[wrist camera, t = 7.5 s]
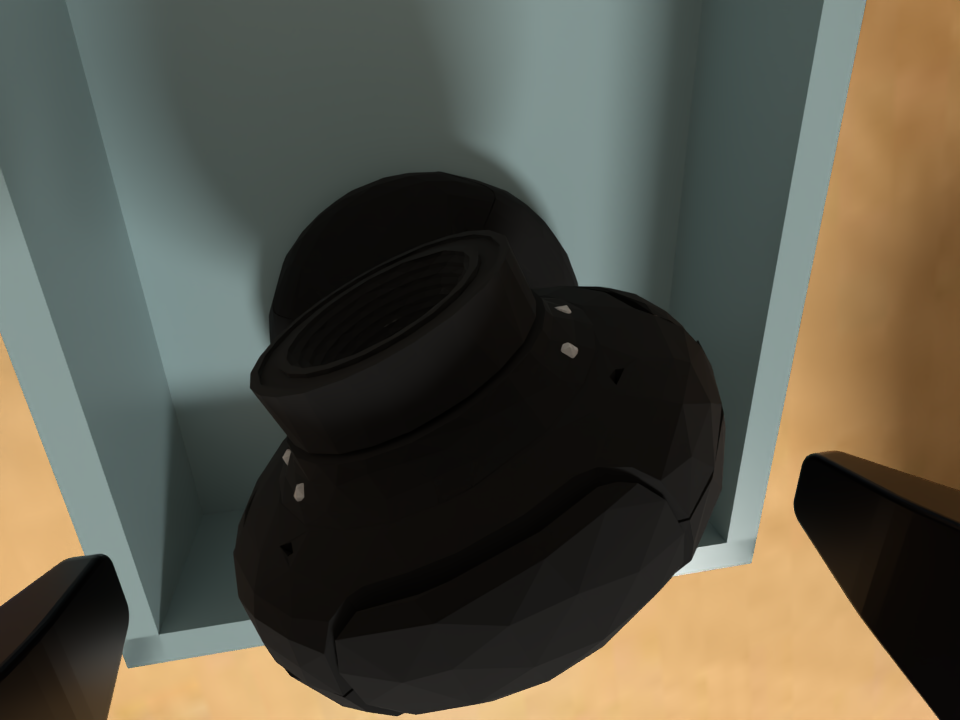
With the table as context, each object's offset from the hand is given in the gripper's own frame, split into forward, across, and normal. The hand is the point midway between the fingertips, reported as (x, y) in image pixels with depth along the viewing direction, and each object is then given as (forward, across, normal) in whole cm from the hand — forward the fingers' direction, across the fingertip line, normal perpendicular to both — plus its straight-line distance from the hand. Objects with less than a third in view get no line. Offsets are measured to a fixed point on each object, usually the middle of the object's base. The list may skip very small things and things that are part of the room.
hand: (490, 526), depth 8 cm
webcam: (+8, 0, 0) cm, 8 cm away
